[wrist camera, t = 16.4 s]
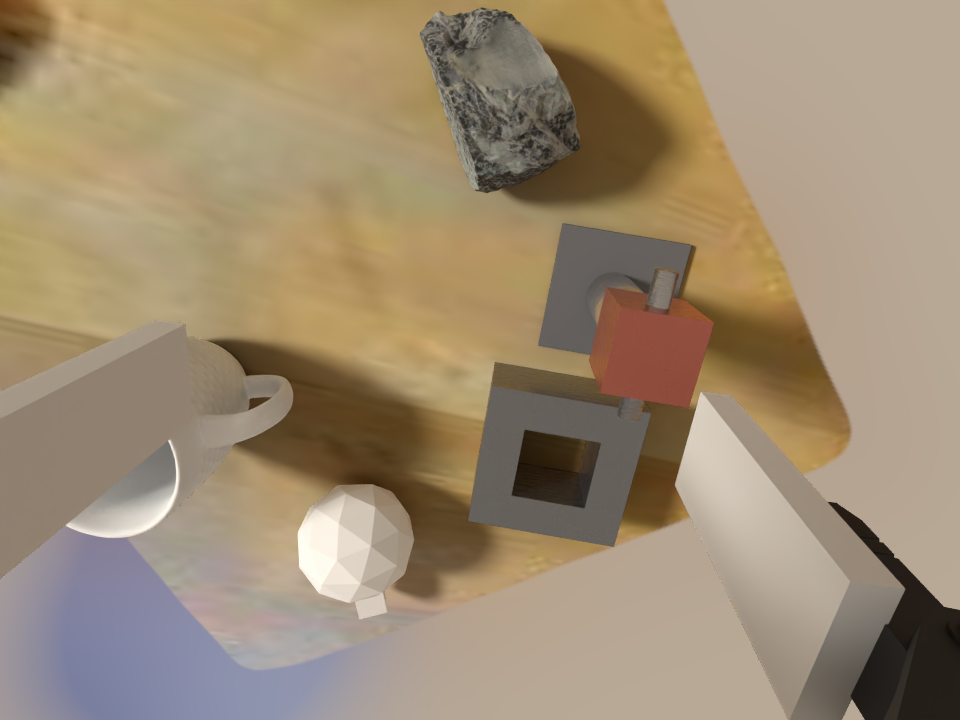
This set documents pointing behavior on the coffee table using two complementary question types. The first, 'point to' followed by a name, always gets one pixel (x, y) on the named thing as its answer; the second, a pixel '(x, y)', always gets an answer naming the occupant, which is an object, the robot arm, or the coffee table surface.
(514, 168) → the stone
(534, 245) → the coffee table surface
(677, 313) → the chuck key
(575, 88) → the coffee table surface
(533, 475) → the block
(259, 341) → the coffee table surface
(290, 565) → the coffee table surface
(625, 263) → the mat
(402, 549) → the perfume bottle
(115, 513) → the mug
